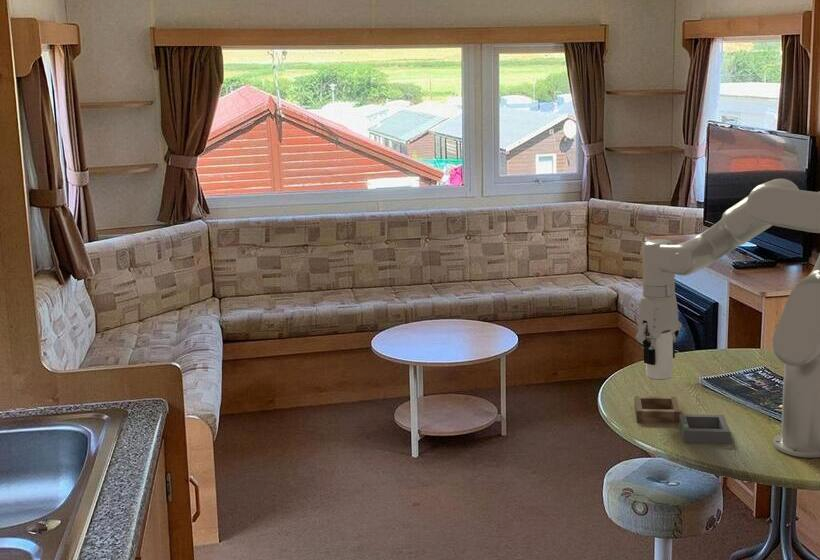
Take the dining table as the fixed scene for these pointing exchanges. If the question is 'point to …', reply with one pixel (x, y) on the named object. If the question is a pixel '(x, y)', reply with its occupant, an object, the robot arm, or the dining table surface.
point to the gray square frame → (704, 429)
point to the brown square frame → (656, 409)
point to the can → (662, 358)
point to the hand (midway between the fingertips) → (659, 359)
